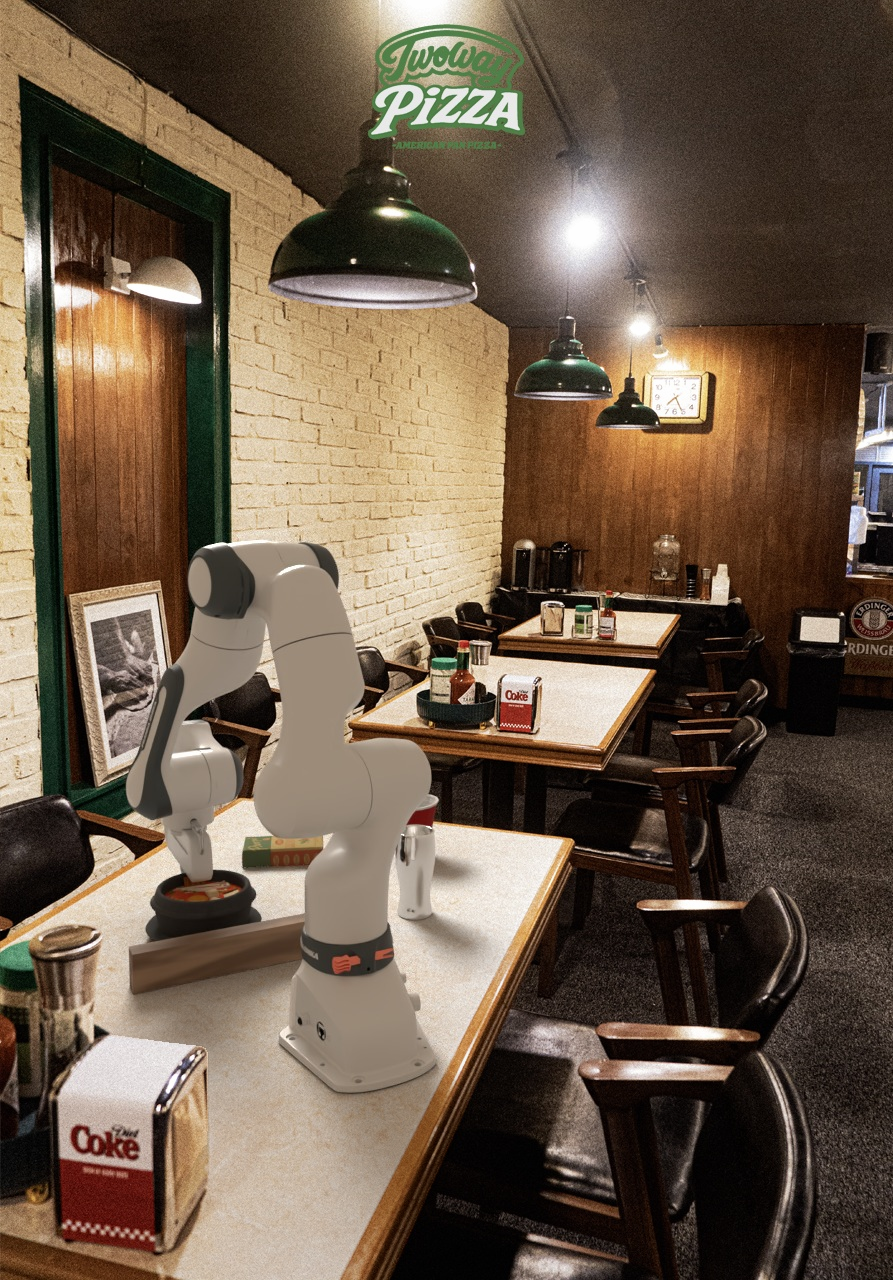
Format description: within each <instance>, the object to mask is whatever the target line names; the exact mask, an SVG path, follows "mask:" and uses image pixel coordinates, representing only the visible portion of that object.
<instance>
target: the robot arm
mask: <svg viewBox="0 0 893 1280" xmlns="http://www.w3.org/2000/svg"><path fill="white" fill-rule="evenodd" d="M186 579H187V588H188V589H187V590H188V593H189V597H190V599H191V602H192V603H193V605H194V607H195V608H194V611H193V617H192V623H191V630H190V635H189V638H188V642H187V644H186V646H185V648H184V650H183V651H182V653H181V655H180V656H179V658H178V659H177V660H176V662H175V663H173V664H171V665H170V666H169V667H168V668H167V669H165V671H164V672H163V674H162V675H161V676H162V677H161V679H160V681H159V684H158V686H157V689H156V693H155V695H154V698H153V702H152V705H151V708H150V711H149V715H148V718H147V721H146V725H145V728H144V731H143V734H142V738H141V740H140V744H139V747H138V750H137V753H136V756H135V757H134V759H133V761H132V763H131V765H130V767H129V770H128V772H127V776H126V779H125V793H126V799H127V802H128V805H129V807H130V808H131V809H132V810H133V811H134V812H136V813H137V814H139V815H140V816H142V817H143V818H146V819H148V820H150V821H156V820H159V819H160V820H161V825H162V826H163V828H164V829H163V830H164V837H165V844H166V847H167V848H168V850H169V851H170V853H171V855H172V856H173V857H174V859H175V861H177V863H178V865H179V869H180V874H182V873H186V875H187V876H188V877H189V879H190V880H191V882H200V881H206V880H210V879H211V878H212V875H213V870H214V865H213V864H214V863H213V862H214V861H213V849H212V848H213V847H212V839H211V837H210V834H209V833H208V832H207V830H208V826H209V825H210V824H212V823H213V822H214V821H215V807H217V806H221V805H226V804H229V803H230V802H231V803H232V802H233V801H235V799H236V798H237V797H238V795H239V794H240V793H241V791H242V787H243V785H244V767H243V761H242V759H241V758H240V757H239V756H238V755H237V754H236V753H235V752H234V751H232V749H229V748H228V747H224V746H222V745H221V744H220V743H219V742H218V741H217V740H216V739H215V738H214V736H213V734H212V729H211V726H210V723H209V722H208V721H206V720H203V719H193V720H186V718H187V717H188V716H189V715H190V714H191V713H192V712H193V711H195V710H196V709H197V708H199V707H201V706H202V705H204V704H206V703H208V702H210V701H212V700H214V699H216V698H219V697H221V696H224V695H226V694H228V693H231V692H234V691H235V690H237V689H239V688H240V687H242V686H244V685H245V684H246V683H248V681H249V680H250V679H252V678H253V676H254V675H256V674H255V673H256V672H257V670H258V668H259V666H260V662H261V660H262V659H261V658H262V654H263V650H264V649H263V648H264V641H265V635H266V627H267V633H268V637H269V638H268V639H269V644H270V648H271V654H272V658H273V662H274V663H273V664H274V667H275V668H274V669H275V672H276V678H277V682H278V687H279V693H280V700H281V710H282V718H281V719H282V720H281V729H280V734H279V738H278V742H277V744H276V746H275V749H274V751H273V753H272V756H271V758H270V759H269V760H268V762H267V763H266V764H265V765H264V767H263V768H262V769H261V770H260V772H259V774H258V776H257V778H256V780H255V785H254V788H253V806H254V810H255V814H256V816H257V818H258V820H259V822H260V823H261V825H262V826H263V828H264V829H265V830H266V831H267V832H268V833H269V834H271V836H275V837H277V838H280V839H304V838H316V837H320V836H323V837H324V836H327V835H331V837H330V839H329V841H328V843H326V845H325V847H323V850H322V851H321V852H320V853H319V854H318V855H317V856H316V857H315V859H314V860H313V861H312V862H311V864H310V865H308V867H307V870H306V872H305V874H304V875H305V876H304V913H305V924H304V926H303V927H302V935H301V955H302V957H303V959H301V962H300V964H299V967H298V969H297V970H296V971H295V973H294V974H293V976H292V978H291V981H290V982H291V983H290V997H289V1014H288V1016H289V1017H288V1025H287V1026H284V1028H283V1029H282V1030H280V1032H279V1033H278V1044H280V1045H281V1046H282V1047H283V1048H284V1049H285V1050H286V1051H287V1052H289V1054H291V1055H292V1056H293V1057H294V1058H296V1060H298V1061H299V1062H300V1063H301V1064H303V1066H305V1067H306V1068H307V1069H309V1071H311V1072H312V1073H313V1074H314V1075H315V1076H316V1077H318V1078H319V1079H320V1080H321V1081H322V1082H324V1083H325V1084H326V1085H327V1086H328V1087H329V1088H330V1089H331V1090H333V1091H334V1092H338V1093H363V1092H371V1091H376V1090H380V1089H385V1088H389V1087H392V1086H396V1085H398V1084H402V1083H405V1082H408V1081H410V1080H413V1079H416V1078H418V1077H420V1076H422V1075H424V1074H425V1073H427V1072H429V1071H430V1070H431V1069H432V1068H433V1067H434V1066H436V1064H437V1060H436V1054H435V1052H434V1050H433V1048H432V1046H431V1044H430V1042H429V1039H428V1038H427V1037H426V1035H425V1033H424V1031H423V1029H422V1027H421V1025H420V1023H419V1021H418V1019H417V1016H416V1015H417V1014H416V1012H419V1011H420V1010H421V1005H422V1004H421V1003H422V1002H421V997H420V994H419V993H418V992H411V993H409V992H408V990H407V986H406V983H407V975H406V973H405V972H400V969H399V967H398V964H397V962H396V959H395V950H394V938H393V933H392V930H391V925H390V923H389V921H388V919H389V917H388V913H389V911H388V910H389V908H388V907H389V890H390V889H389V888H390V887H389V885H390V875H391V870H392V869H391V867H392V865H393V859H394V856H395V850H396V847H397V845H398V842H399V839H400V837H401V835H402V832H403V830H404V828H405V826H406V824H407V822H408V821H409V819H410V817H411V816H412V814H413V813H414V812H415V810H416V809H417V808H418V807H419V806H420V805H421V804H422V803H423V801H424V800H425V799H426V797H427V796H428V794H429V793H430V789H431V784H432V770H431V765H430V761H429V760H428V757H427V755H426V753H425V752H424V750H423V749H422V748H421V747H420V746H419V745H418V744H417V743H416V742H414V741H412V740H409V739H404V738H403V739H402V738H392V737H390V738H389V737H376V738H372V739H365V740H360V741H355V742H350V743H346V742H345V734H344V732H345V731H344V730H345V722H346V718H347V716H348V714H349V713H351V712H352V711H353V710H354V709H355V708H356V707H357V706H358V705H359V703H360V702H361V701H362V699H363V697H364V693H365V689H366V688H365V687H366V686H365V685H366V684H365V680H364V677H363V671H362V668H361V665H360V664H361V663H360V659H359V655H358V651H357V647H356V642H355V640H354V636H353V635H354V634H353V631H352V627H351V623H350V620H349V618H348V614H347V611H346V607H345V605H344V603H343V600H342V597H341V596H340V595H341V594H340V593H339V585H340V573H339V567H338V565H337V562H336V560H335V558H334V556H333V554H332V553H331V551H330V550H329V549H328V548H327V547H325V546H322V545H319V544H317V543H312V542H307V541H299V542H287V541H276V540H275V541H274V540H273V541H269V540H265V539H264V540H262V539H261V540H258V539H257V540H247V541H238V542H231V543H226V542H218V543H214V544H209V545H206V546H203V547H200V548H199V549H198V550H196V551H195V553H194V554H193V556H192V558H191V560H190V562H189V564H188V570H187V578H186Z"/></svg>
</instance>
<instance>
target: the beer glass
mask: <svg viewBox="0 0 893 1280" xmlns="http://www.w3.org/2000/svg"><path fill="white" fill-rule="evenodd" d="M435 838H436V837H435V829H434V828H433V827H429V826H426V825H406V826H405V828H404V830H403V832H402V835H401V837H400V839H399V842H398V845H397V847H396V850H395V853H394V856H395V858H394V859H395V867H396V873H397V881H398V885H399V900H398V901H399V902H398V906H397V914H398V916H399V917H401V918H402V919H406V920H409V921H420V920H426V919H427V918H430V917H431V916H432V914H433V908H432V903H431V902H432V901H431V887H432V881H433V877H434V876H433V875H434V871H435V865H436V839H435Z"/></svg>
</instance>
